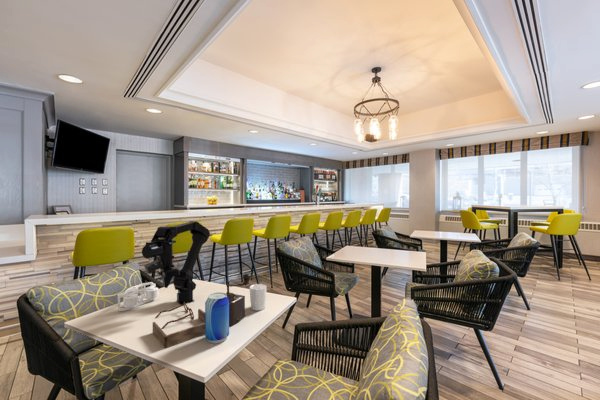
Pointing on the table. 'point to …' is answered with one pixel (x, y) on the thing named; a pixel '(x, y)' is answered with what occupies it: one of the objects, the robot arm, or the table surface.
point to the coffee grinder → (236, 302)
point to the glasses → (180, 318)
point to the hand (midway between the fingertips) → (166, 287)
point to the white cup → (258, 296)
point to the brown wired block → (180, 333)
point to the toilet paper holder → (132, 297)
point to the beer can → (217, 317)
